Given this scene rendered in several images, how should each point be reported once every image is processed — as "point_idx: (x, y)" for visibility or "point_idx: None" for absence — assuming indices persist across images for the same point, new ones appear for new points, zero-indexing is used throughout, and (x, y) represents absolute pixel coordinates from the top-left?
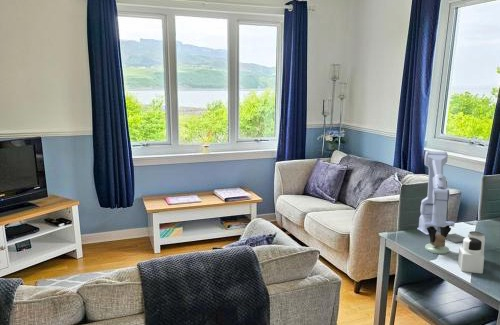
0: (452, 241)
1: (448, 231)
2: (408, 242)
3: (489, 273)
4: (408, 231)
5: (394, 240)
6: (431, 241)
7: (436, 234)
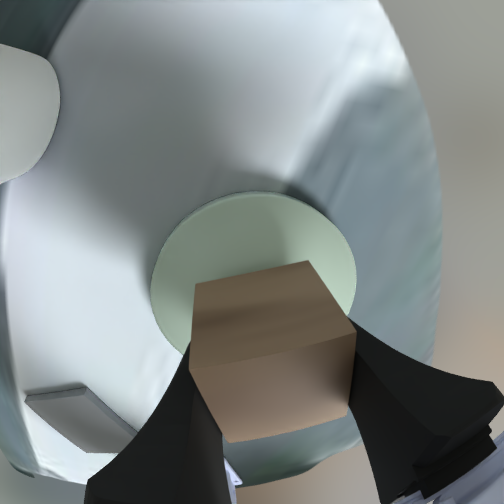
0: (100, 403)
1: (132, 464)
2: None
3: None
4: (292, 463)
5: None
6: None
7: (278, 427)
